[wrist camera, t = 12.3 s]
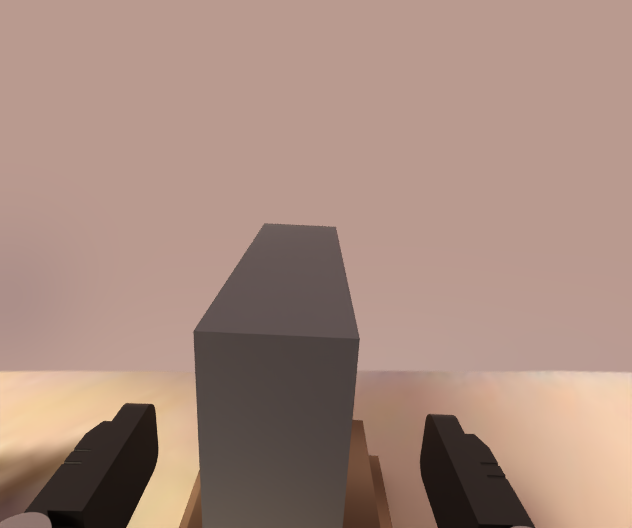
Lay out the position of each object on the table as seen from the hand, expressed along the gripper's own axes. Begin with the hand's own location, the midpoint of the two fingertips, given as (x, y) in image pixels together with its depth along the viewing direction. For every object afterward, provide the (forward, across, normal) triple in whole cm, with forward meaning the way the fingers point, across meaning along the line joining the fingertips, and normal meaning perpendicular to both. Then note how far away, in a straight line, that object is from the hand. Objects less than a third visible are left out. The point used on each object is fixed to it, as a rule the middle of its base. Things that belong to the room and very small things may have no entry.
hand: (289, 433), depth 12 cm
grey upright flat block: (+2, 0, +9) cm, 9 cm away
